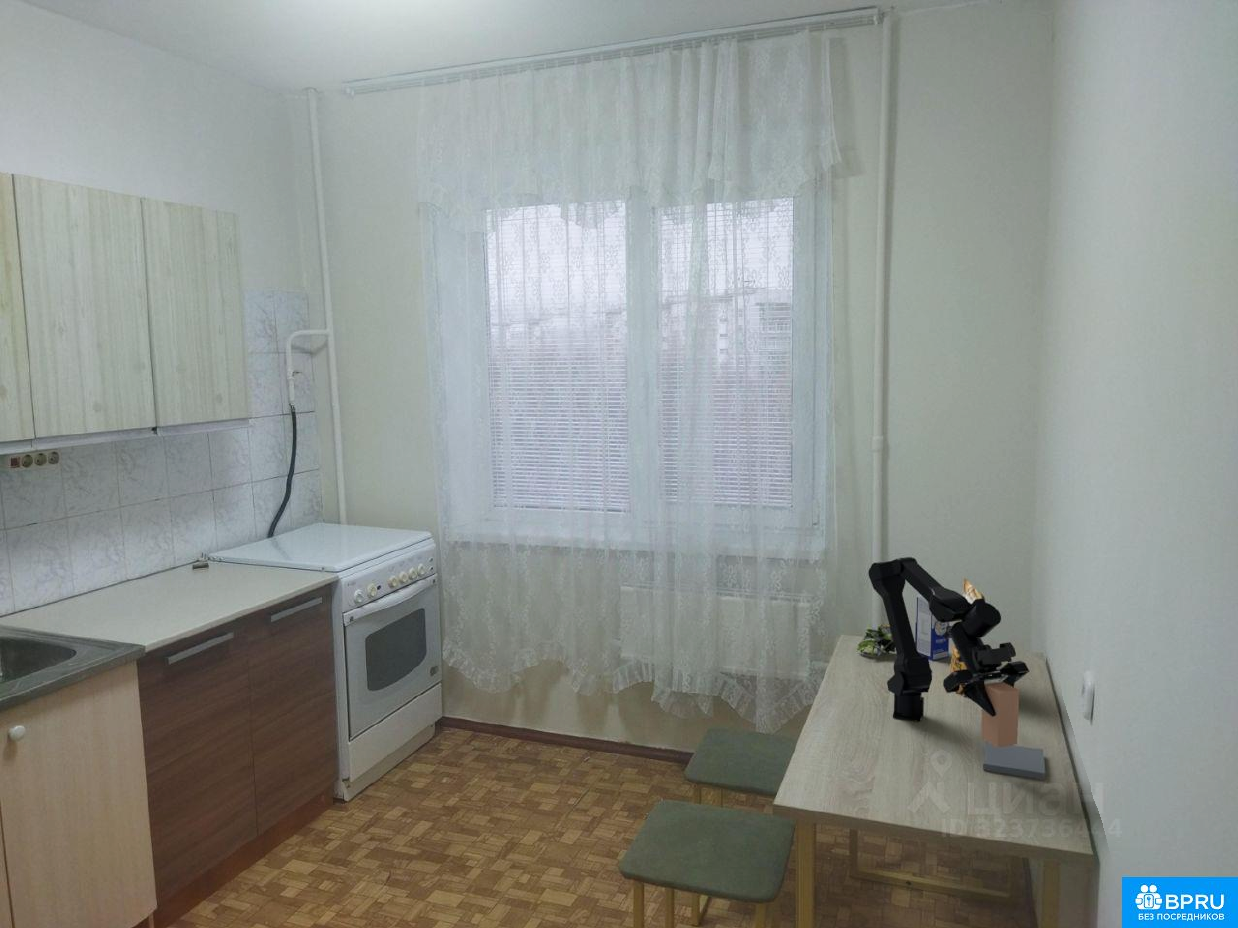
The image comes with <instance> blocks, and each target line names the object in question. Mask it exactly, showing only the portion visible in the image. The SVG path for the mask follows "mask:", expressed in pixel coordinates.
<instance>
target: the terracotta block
mask: <svg viewBox="0 0 1238 928" xmlns="http://www.w3.org/2000/svg"><path fill="white" fill-rule="evenodd" d="M985 691H986V693H987V695H988V697H989V699H990V701H991V703H992V705H993V707H994V710H995V713H996V715H995V716H994V717H992V716H991V715H990V714H988V713H987V712H986V711H985V710H984V709H982V708H981V729H980V738H981V739H982V740H984V742H985V741H987V742H989V743H990V744H992V745H994V746H995V747H997V748H999V747H1004V746H1010V745H1015V746H1016V745H1018V728H1019V723H1018V722H1019V706H1020V689H1018V688H1016V687H1015V686H1014V687H1012V686H1010V685H1008V684H1006V683H1004V682H997V683H996V682H991V683H990V682H989V683H986V684H985Z"/></svg>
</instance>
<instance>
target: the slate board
mask: <svg viewBox="0 0 1238 928" xmlns="http://www.w3.org/2000/svg"><path fill="white" fill-rule="evenodd" d="M983 747H984V749H983V763H982V765H983V767H982V769H983V771H986V770H988V771H987V772H992V771H993V773H999V774H1005V775H1010V776H1016V777H1023V778H1029V779H1036V780H1042V781H1045V780H1046V769H1045V767H1046V766H1045V765H1046V764H1045V755H1044V749H1041V748H1033V747H1028V746H1020V745H1016V744H1015V745H1010V746H1004V747H999V748H997V747H995V746H994V745H992V744H990V743H989V742H987V741H985V740H984V746H983Z"/></svg>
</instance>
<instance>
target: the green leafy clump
mask: <svg viewBox="0 0 1238 928" xmlns="http://www.w3.org/2000/svg"><path fill="white" fill-rule="evenodd" d="M882 647H883V648H882ZM869 648H870V653H871V655H872V656H874V650H875V649H876V653H877V657H876V658H875V661H878V659H879V657H880V656H881V654H882V652H885V653H887V654H889V653H890V652H891V653H896V649H895V645H894V641H893V637H892V633H891V629H890V625H888V624H885V625H884V624H880V625H879V626H878V627H872V629H871V628H869V627H866V631H865V635H864V637H863V638H862V640H861V641H860V642H859V643H858V646H857V648H856V649H857V651H860V653H863V652H864V650H866V649H869Z"/></svg>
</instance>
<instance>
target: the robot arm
mask: <svg viewBox="0 0 1238 928" xmlns="http://www.w3.org/2000/svg"><path fill="white" fill-rule="evenodd" d="M867 573H868V578H869V580H870V582H871V585H872V588H873V590H874V591H875V592H876V593H877V594H878V595H879V596H880V597H881V598H882V600H883V601H882V602H883V605H884V610H885V613H886V617H887V620H888V621H887V622H888V626H889V627H890V629H891V633H892V637H893V641H894V645H895V653H896V657H895V661H894V664H893V672H894V674H893V675H892V676H891V677H890V678H889V679H888V680H887V681H886V685H887V689H888V691H889V692H890V693H892V694H893V714H892V718H895V719H899V720H906V721H907V720H908V721H914V722H920V721H921V719H922V718H923V717H924V713H925V712H924V711H925V697H923V695H922V693H929V691H930V690H929V689H930V688H931V687H930V686H931V685H932V681H933V670H932V668H931V665H930V660H929V659H928V658H927V656H924V657H923V656H922V655H921V654H920V653H919V652H918V651H917V648H916V644H915V636H914V633H913V630H912V625H911V621H910V619H909V614H908V611H907V610H908V609H907V607H906V603H905V599H904V595H903V592H904V590H905V586H906V583H908V584H909V585H910V586H911V587H912V588H913V589H914V590H916V592H918V594H919V595H922V596H923V597H924V598H925V599H926V600H927V602H928V603H929V610H930V612H931V613H932V614H933V615H934V617H935V618H936V619H937V620H938V621H939V622H941V623H946V622H949V623H953V622H954V623H953V624H952V625H949V626H947V627H946V631H945V633H944V638H945V639H947V638H949V639H951V641H952V642H953V645H954V644H955V646H956V648H957V650H958V652H959V654H960V657H958V658H957V659H958V661H959V663H960V662H963V663H964V665H965V667H966V669H963V670H956V671H953V672H952V673H951V674H950V673H949V675H948V676H946V677H945V678H944V679H943V681H942V685H943V687H944V690H945V692H946V694H950V693H956V692H957V691H958V690H959V688H960V686H959V685H961V686H962V689H963V690H962V691H961V692H960V694H959V695H962V696H963V694H964V695H965V696H964V697H967V698H968V699H970V700H971V701H972V702H974V703H975V704H977V705H978V706H979V707H980V708H981V710H982V709H984V710H985V711H986V712H987V713H988V714H990V715H991V716H992V717H994V716H995V715H996V713H995V710H994V707H993V705H992V703H991V701H990V699H989V697H988V695H987V693H986V691H985V682H986V681H987V682H988V681H995V683H997V682H1004V683H1006V684H1008V685H1010V686H1012V687H1014V688H1015V683H1016V682H1018V681H1020V679H1022V678H1023V677H1025V676H1026V675H1027V674H1028V673H1029V672H1030V669H1029V668H1028V666H1027V664H1026V662H1024V661H1021V660H1017V661H1013V660H1012V658H1015V657H1016V656H1017V652H1016V648H1015V647H1014V645H1013V644H1012V642H1008V641H1007V642H1003V643H1000V644H999V646H998V647H999V648H998V647H997V648H992V647H991V645H989V644H985V643H984V641H983V639H982V638H983V637H986V636H987V635H988V634H989V633H990V632H992V630H993V629H995V628H996V627H997V626H998V625H999V624H1001V621H1002V614H1001V613H1000V610H999V609H997V608H996V607H995V606H994V605H992V604H991V603H988V602H986V599H985V600H984V599H983V598H981V599H975V600H974V601H973V603H972V604H971V603H970V602H968V601H967V599H966V598H965V597H964V596H962V594H960V593H959V592H958V591H955V590H952V589H949V588H946V587H944V586H943V585H942V584H941V583H939V582H938V580H936V579H935V578H934V577H933V575H931V574H930V573H928V571H926V570H925V569H924V568H923V567H922V566H921V565H920V564H919V563H918V561H917V560H916V558H915V557H912V556H905V557H897V558H895V559H893V560H890V561H879V562H878V561H877V562H873V563H871V566H870V567H869V569H868V572H867ZM958 621H959V622H958ZM1006 662H1007V663H1006ZM1003 663H1006V664H1005V665H1004V666H1002V665H1003ZM1000 667H1001V668H1000ZM998 668H1000V669H998Z"/></svg>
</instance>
